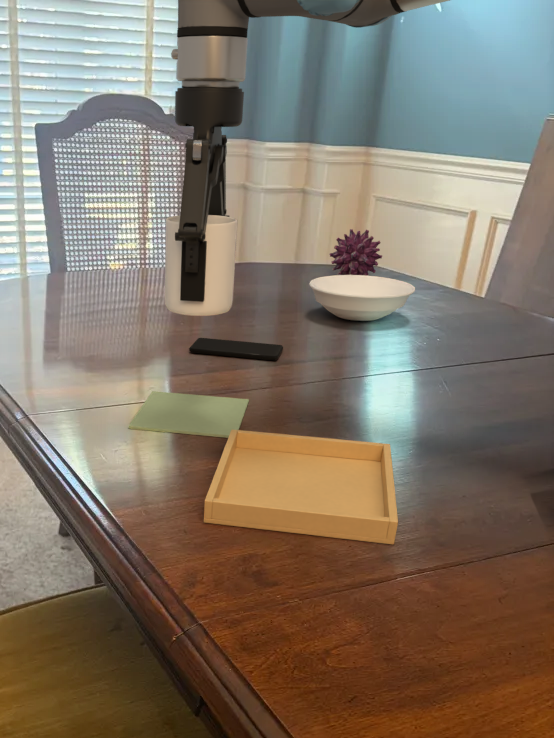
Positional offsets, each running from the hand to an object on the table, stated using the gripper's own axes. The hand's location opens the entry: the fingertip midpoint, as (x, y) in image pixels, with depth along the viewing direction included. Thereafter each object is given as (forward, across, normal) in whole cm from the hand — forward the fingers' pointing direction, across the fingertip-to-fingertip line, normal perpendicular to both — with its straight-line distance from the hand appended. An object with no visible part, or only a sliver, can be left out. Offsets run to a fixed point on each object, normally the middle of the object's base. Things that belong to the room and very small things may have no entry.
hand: (201, 289), depth 95 cm
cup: (+2, 0, 0) cm, 2 cm away
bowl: (+17, -61, +21) cm, 67 cm away
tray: (+17, +19, +15) cm, 29 cm away
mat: (+17, -1, -1) cm, 17 cm away
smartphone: (+17, -32, +1) cm, 36 cm away
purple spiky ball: (+17, -98, +20) cm, 102 cm away
